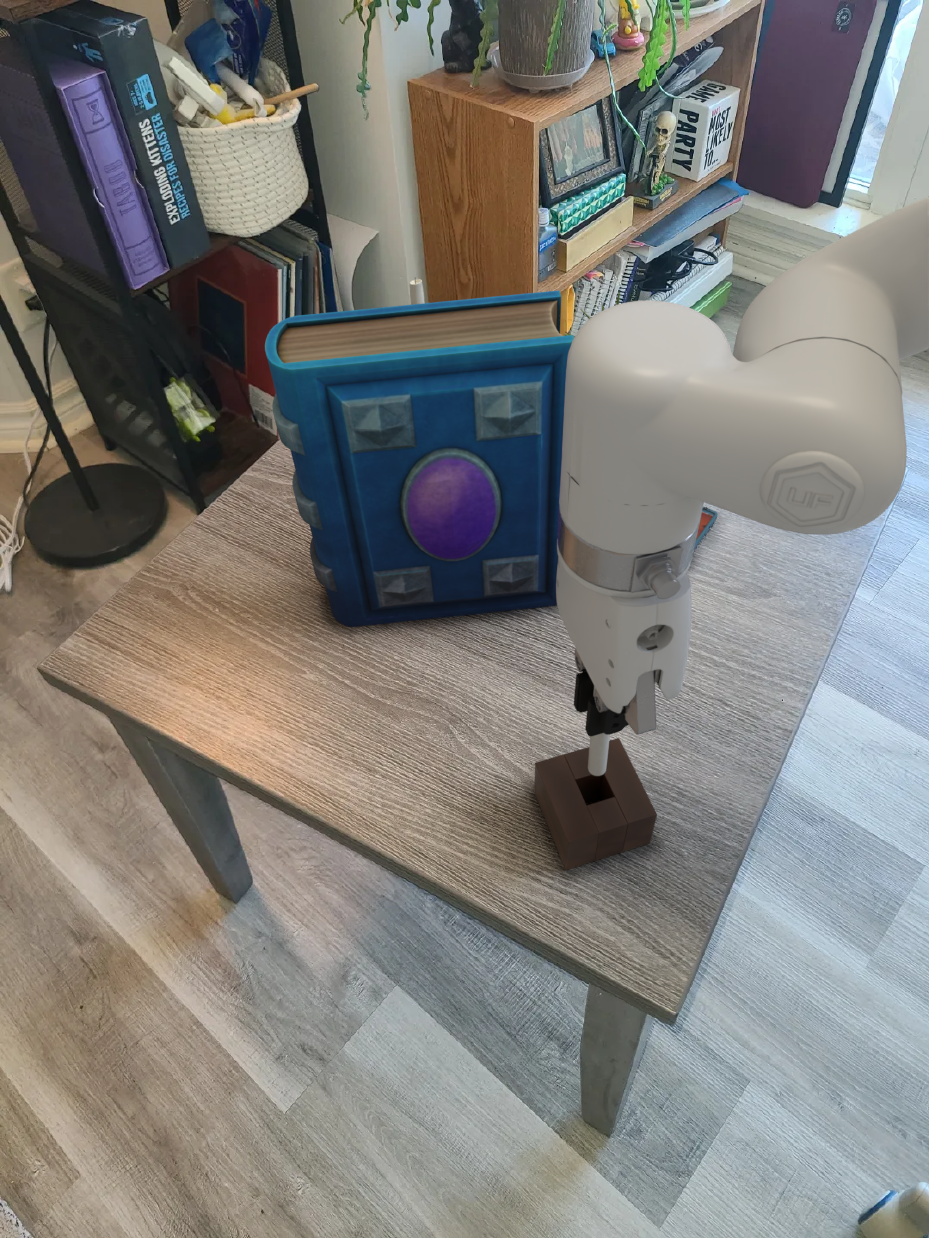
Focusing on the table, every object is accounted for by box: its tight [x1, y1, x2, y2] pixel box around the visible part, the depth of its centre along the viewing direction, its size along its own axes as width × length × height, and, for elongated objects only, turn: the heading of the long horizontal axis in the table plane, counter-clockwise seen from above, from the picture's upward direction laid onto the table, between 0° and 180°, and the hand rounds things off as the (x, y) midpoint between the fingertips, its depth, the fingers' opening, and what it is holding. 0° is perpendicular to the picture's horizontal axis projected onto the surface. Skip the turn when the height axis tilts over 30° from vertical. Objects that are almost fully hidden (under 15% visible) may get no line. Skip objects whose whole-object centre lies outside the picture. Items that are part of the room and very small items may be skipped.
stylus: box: [588, 686, 611, 776], centre depth 64 cm, size 1×1×13 cm
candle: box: [409, 276, 426, 305], centre depth 108 cm, size 5×5×16 cm
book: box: [264, 289, 575, 628], centre depth 80 cm, size 24×9×30 cm, turn 95°
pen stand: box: [533, 737, 658, 871], centre depth 73 cm, size 7×7×5 cm
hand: (601, 715), depth 63 cm, fingers closed on stylus, 1 cm apart
